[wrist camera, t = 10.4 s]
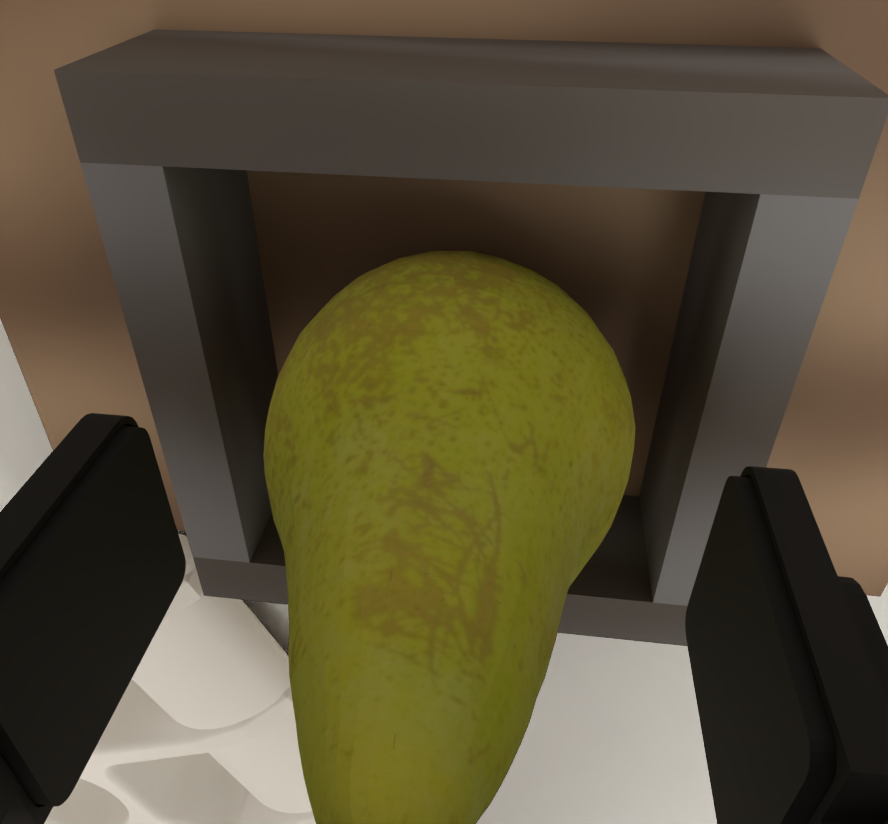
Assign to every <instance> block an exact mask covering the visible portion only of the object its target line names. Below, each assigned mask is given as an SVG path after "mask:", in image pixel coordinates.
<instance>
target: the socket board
mask: <svg viewBox="0 0 888 824" xmlns="http://www.w3.org/2000/svg"><path fill="white" fill-rule="evenodd" d="M431 251H473V252H478V253H482V254H486V255H491V256H495V257H499V258H503V259H506V260H508V261H511V262H513V263H516V264H518V265H521V266H524V267H526V268H529V269H531V270H533V271H535V272H536V273H538V274H540V275H541V276H543V277H545V278H546V279H548V280H550V281H551V282H553V283H555V284H557V285H558V286H559V287H560V288H561V289H562V290H563V291H565V292H566V293H567V294H568V295H569V296H570V297H571V298H572V299H573V300H574V301H575V302H576V303H577V304H579V305H580V306H581V307H582V308H583V309H584V310H585V311H586V312H587V313H588V314H589V316H590V317H591V319H592V320H593V322H594V323H595V324H596V326H597V327H598V329H599V330H600V332H601V333H602V335H603V336H604V337H605V339H606V340H607V342H608V343H609V345H610V346H611V348H612V349H613V350H614V352H615V355H616V357H617V360H618V362H619V364H620V367H621V369H622V372H623V374H624V377H625V379H626V382H627V385H628V389H629V392H630V395H631V400H632V407H633V414H634V421H635V427H636V429H635V441H634V451H633V457H632V462H631V468H630V473H629V479H628V482H627V485H626V488H625V491H624V494H623V497H622V500H621V503H620V505H619V508H618V510H617V513H616V515H615V518H614V520H613V523H612V525H611V527H610V529H609V531H608V532H607V534H606V536H605V537H604V539H603V541H602V542H601V544H600V545H599V547H598V548H597V550H596V551H595V552H594V554H593V555H592V556H591V558H590V559H589V561H588V562H587V563H586V565H585V566H584V568H583V569H582V570H581V572H580V573H579V575H578V576H577V577H576V579H575V580H574V581H573V583H572V584H571V585H570V587H569V589H568V592H567V596H566V599H565V603H564V607H563V611H562V615H561V619H560V623H559V628H558V632H557V633H567V634H577V635H586V636H596V637H605V638H615V639H625V640H634V641H644V642H654V643H663V644H673V645H682V646H688V645H687V639H686V632H685V617H686V610H687V606H688V603H689V599H690V596H691V593H692V590H693V586H694V583H695V580H696V576H697V573H698V570H699V567H700V563H701V560H702V557H703V554H704V550H705V547H706V544H707V541H708V537H709V534H710V531H711V528H712V524H713V521H714V518H715V515H716V511H717V508H718V505H719V502H720V498H721V495H722V492H723V488H724V485H725V482H726V480H727V478H728V477H729V476H741V473H742V471H743V470H744V468H745V467H747V466H754V467H767V468H779V469H791V470H793V471H795V472H796V474H797V476H798V477H799V480H800V482H801V485H802V487H803V490H804V492H805V495H806V497H807V500H808V502H809V505H810V507H811V510H812V512H813V515H814V518H815V520H816V523H817V525H818V528H819V530H820V533H821V535H822V538H823V540H824V543H825V545H826V548H827V550H828V553H829V555H830V558H831V560H832V563H833V566H834V568H835V571H836V573H837V576H841V577H849V578H853V579H854V580H856V581H857V582H858V583H859V584H860V585H861V587H862V589H863V591H864V592H865V594H866V595H871V596H881V594H882V592H883V590H884V588H885V587H886V585H887V583H888V0H0V318H1V321H2V323H3V326H4V328H5V331H6V333H7V336H8V338H9V341H10V343H11V346H12V348H13V351H14V353H15V356H16V358H17V361H18V364H19V366H20V369H21V371H22V374H23V376H24V379H25V381H26V384H27V386H28V389H29V391H30V394H31V396H32V399H33V401H34V404H35V406H36V409H37V411H38V414H39V416H40V419H41V421H42V424H43V426H44V429H45V431H46V434H47V436H48V439H49V441H50V444H51V446H52V449H53V451H54V449H55V448H56V447H57V446H58V445H59V444H60V442H61V441H62V440H63V439H64V438H65V437H66V436H67V434H68V433H69V432H70V431H71V430H72V429H73V427H74V426H75V425H76V424H77V423H78V422H79V421H80V419H81V418H83V417H84V416H85V415H86V414H90V413H97V414H109V415H122V416H129V417H132V418H133V419H134V420H135V421H136V422H137V424H138V427H142V428H145V429H146V430H147V432H148V434H149V436H150V439H151V443H152V446H153V450H154V453H155V456H156V460H157V463H158V467H159V470H160V473H161V477H162V480H163V484H164V487H165V490H166V494H167V497H168V501H169V504H170V507H171V511H172V514H173V518H174V521H175V524H176V528H177V529H179V530H185V532H186V535H187V539H188V542H189V546H190V549H191V553H192V556H193V560H194V563H195V567H196V570H197V574H198V577H199V581H200V584H201V588H202V591H203V595H204V596H211V597H221V598H230V599H240V600H250V601H259V602H269V603H278V604H288V592H287V577H286V565H285V555H284V550H283V546H282V543H281V540H280V537H279V534H278V531H277V528H276V525H275V523H274V519H273V514H272V509H271V504H270V499H269V494H268V489H267V484H266V479H265V471H264V458H263V452H264V439H265V427H266V422H267V416H268V411H269V406H270V402H271V399H272V395H273V392H274V388H275V385H276V381H277V378H278V376H279V374H280V372H281V370H282V367H283V365H284V363H285V361H286V359H287V357H288V355H289V353H290V351H291V350H292V348H293V346H294V344H295V342H296V340H297V338H298V336H299V334H300V333H301V332H302V330H303V329H304V328H305V327H306V326H307V325H308V324H309V322H310V321H311V320H312V319H313V318H314V317H315V316H316V315H317V314H318V313H319V311H320V310H321V309H322V308H323V307H324V306H325V305H326V304H327V303H328V302H329V301H330V300H331V298H332V297H334V296H335V295H336V294H337V293H339V292H340V291H341V290H342V289H344V288H345V287H346V286H347V285H349V284H350V283H351V282H352V281H354V280H355V279H356V278H357V277H359V276H361V275H363V274H365V273H367V272H369V271H371V270H373V269H375V268H378V267H380V266H382V265H384V264H387V263H389V262H391V261H393V260H396V259H398V258H402V257H407V256H412V255H416V254H421V253H426V252H431Z"/></svg>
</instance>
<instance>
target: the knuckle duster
mask: <svg viewBox="0 0 888 824" xmlns="http://www.w3.org/2000/svg"><path fill="white" fill-rule="evenodd" d="M178 535H179V538H180V542H181V545H182V548H183V552H184V555H185V560H186V569H185V575H184V579H183V581H182V584H181V586H180V588H179V590H178V591H177V593H176V595H175V597H174V599H173V601H172V603H171V605H170V607H169V609H168V611H167V612H166V614H165V616H164V618H163V620H162V622H161V624H160V626H159V628H158V630H157V631H156V633H155V635H154V637H153V639H152V641H151V643H150V645H149V647H148V649H147V651H146V652H145V654H144V656H143V658H142V660H141V662H140V664H139V666H138V668H137V670H136V671H135V673H134V675H133V677H132V679H131V681H130V683H129V685H128V687H127V689H126V691H125V692H124V694H123V696H122V698H121V700H120V702H119V704H118V706H117V708H116V710H115V712H114V713H113V715H112V717H111V719H110V721H109V723H108V725H107V727H106V729H105V731H104V732H103V734H102V736H101V738H100V740H99V742H98V744H97V746H96V748H95V750H94V752H93V753H92V755H91V757H90V759H89V761H88V763H87V765H86V767H85V769H84V771H83V772H82V774H81V776H80V778H79V780H78V782H77V784H76V786H75V788H74V790H73V791H72V793H71V795H70V796H69V798H68V799H67V800H66V801H65V802H64V803H63V804H62V805H60V806H53V808H52V810H51V812H50V814H49V816H48V818H47V819H46V821H45V823H44V824H316V822H315V819H314V815H313V812H312V808H311V804H310V801H309V797H308V793H307V789H306V785H305V780H304V776H303V770H302V764H301V758H300V753H299V747H298V739H297V730H296V721H295V715H294V708H293V701H292V694H291V686H290V678H289V656H288V655H287V654H286V653H285V651H284V650H283V649H282V648H281V646H280V645H279V644H278V643H277V642H276V640H275V639H274V638H273V637H272V636H271V634H270V633H269V632H268V631H267V629H266V628H265V627H264V626H263V625H262V623H261V622H260V621H259V620H258V619H257V617H256V616H255V615H254V614H253V612H252V611H251V610H250V609H249V608H248V606H247V605H246V604H245V603H244V602H243V600H240V599H230V598H221V597H211V596H204V595H203V591H202V588H201V584H200V581H199V577H198V574H197V570H196V567H195V563H194V560H193V556H192V553H191V549H190V546H189V542H188V539H187V536H185V535H182V534H178Z"/></svg>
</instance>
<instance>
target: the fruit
mask: <svg viewBox="0 0 888 824" xmlns="http://www.w3.org/2000/svg"><path fill="white" fill-rule="evenodd" d="M635 429H636V427H635V421H634V414H633V407H632V400H631V395H630V392H629V389H628V385H627V382H626V379H625V377H624V374H623V372H622V369H621V367H620V364H619V362H618V360H617V357H616V355H615V352H614V350H613V349H612V348H611V346H610V345H609V343H608V342H607V340H606V339H605V337H604V336H603V335H602V333H601V332H600V330H599V329H598V327H597V326H596V324H595V323H594V322H593V320H592V319H591V317H590V316H589V314H588V313H587V312H586V311H585V310H584V309H583V308H582V307H581V306H580V305H579V304H577V303H576V302H575V301H574V300H573V299H572V298H571V297H570V296H569V295H568V294H567V293H566V292H565V291H563V290H562V289H561V288H560V287H559V286H558V285H557V284H555V283H553V282H551V281H550V280H548V279H546V278H545V277H543V276H541V275H540V274H538V273H536V272H535V271H533V270H531V269H529V268H526V267H524V266H521V265H518V264H516V263H513V262H511V261H508V260H506V259H503V258H499V257H495V256H491V255H486V254H482V253H478V252H473V251H431V252H426V253H421V254H416V255H412V256H407V257H402V258H398V259H396V260H393V261H391V262H389V263H387V264H384V265H382V266H380V267H378V268H375V269H373V270H371V271H369V272H367V273H365V274H363V275H361V276H359V277H357V278H356V279H355V280H354V281H352V282H351V283H350V284H349V285H347V286H346V287H345V288H344V289H342V290H341V291H340V292H339V293H337V294H336V295H335V296H334V297H332V298H331V300H330V301H329V302H328V303H327V304H326V305H325V306H324V307H323V308H322V309H321V310H320V311H319V313H318V314H317V315H316V316H315V317H314V318H313V319H312V320H311V321H310V322H309V324H308V325H307V326H306V327H305V328H304V329H303V330H302V332H301V333H300V334H299V336H298V338H297V340H296V342H295V344H294V346H293V348H292V350H291V351H290V353H289V355H288V357H287V359H286V361H285V363H284V365H283V367H282V370H281V372H280V374H279V376H278V378H277V381H276V385H275V388H274V392H273V395H272V399H271V402H270V406H269V411H268V416H267V422H266V427H265V439H264V452H263V458H264V471H265V479H266V484H267V489H268V494H269V499H270V504H271V509H272V514H273V519H274V523H275V525H276V528H277V531H278V534H279V537H280V540H281V543H282V546H283V550H284V555H285V565H286V577H287V592H288V611H289V649H288V653H289V678H290V686H291V694H292V701H293V708H294V715H295V721H296V730H297V739H298V747H299V753H300V758H301V764H302V770H303V776H304V780H305V785H306V789H307V793H308V797H309V801H310V804H311V808H312V812H313V815H314V819H315V822H316V824H476V822H477V821H478V820H479V818H480V817H481V816H482V814H483V813H484V812H485V810H486V809H487V808H488V806H489V805H490V803H491V802H492V800H493V798H494V796H495V795H496V793H497V791H498V789H499V788H500V786H501V784H502V782H503V780H504V778H505V776H506V774H507V772H508V770H509V768H510V766H511V764H512V762H513V760H514V758H515V755H516V753H517V751H518V749H519V747H520V744H521V742H522V739H523V737H524V734H525V732H526V729H527V727H528V724H529V722H530V718H531V715H532V712H533V708H534V705H535V701H536V698H537V696H538V693H539V691H540V688H541V686H542V683H543V681H544V678H545V675H546V671H547V668H548V665H549V661H550V658H551V654H552V651H553V647H554V644H555V640H556V636H557V632H558V628H559V623H560V619H561V615H562V611H563V607H564V603H565V599H566V596H567V592H568V589H569V587H570V585H571V584H572V583H573V581H574V580H575V579H576V577H577V576H578V575H579V573H580V572H581V570H582V569H583V568H584V566H585V565H586V563H587V562H588V561H589V559H590V558H591V556H592V555H593V554H594V552H595V551H596V550H597V548H598V547H599V545H600V544H601V542H602V541H603V539H604V537H605V536H606V534H607V532H608V531H609V529H610V527H611V525H612V523H613V520H614V518H615V515H616V513H617V510H618V508H619V505H620V503H621V500H622V497H623V494H624V491H625V488H626V485H627V482H628V479H629V473H630V468H631V462H632V457H633V451H634V441H635Z"/></svg>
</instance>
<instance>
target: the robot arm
mask: <svg viewBox="0 0 888 824" xmlns="http://www.w3.org/2000/svg"><path fill="white" fill-rule="evenodd" d="M185 569H186V560H185V555H184V552H183V548H182V545H181V542H180V538H179V535H178V531H177V528H176V524H175V521H174V518H173V514H172V511H171V507H170V504H169V501H168V497H167V494H166V490H165V487H164V484H163V480H162V477H161V473H160V470H159V467H158V463H157V460H156V456H155V453H154V450H153V446H152V443H151V439H150V436H149V434H148V432H147V430H146V429H145V428H142V427H138V424H137V422H136V421H135V420H134V419H133V418H132V417H129V416H122V415H109V414H97V413H90V414H86V415H85V416H84V417H83V418H81V419H80V421H79V422H78V423H77V424H76V425H75V426H74V427H73V429H72V430H71V431H70V432H69V433H68V434H67V436H66V437H65V438H64V439H63V440H62V441H61V442H60V444H59V445H58V446H57V447H56V448H55V449H54V451H53V452H52V453H51V454H50V455H49V456H48V458H47V459H46V460H45V461H44V462H43V463H42V464H41V466H40V467H39V468H38V469H37V470H36V471H35V473H34V474H33V475H32V476H31V477H30V478H29V480H28V481H27V482H26V483H25V484H24V485H23V486H22V488H21V489H20V490H19V491H18V492H17V493H16V495H15V496H14V497H13V498H12V499H11V500H10V501H9V503H8V504H7V505H6V506H5V507H4V508H3V510H2V511H1V512H0V824H44V823H45V821H46V819H47V818H48V816H49V814H50V812H51V810H52V808H53V806H60V805H62V804H63V803H64V802H65V801H66V800H67V799H68V798H69V796H70V795H71V793H72V791H73V790H74V788H75V786H76V784H77V782H78V780H79V778H80V776H81V774H82V772H83V771H84V769H85V767H86V765H87V763H88V761H89V759H90V757H91V755H92V753H93V752H94V750H95V748H96V746H97V744H98V742H99V740H100V738H101V736H102V734H103V732H104V731H105V729H106V727H107V725H108V723H109V721H110V719H111V717H112V715H113V713H114V712H115V710H116V708H117V706H118V704H119V702H120V700H121V698H122V696H123V694H124V692H125V691H126V689H127V687H128V685H129V683H130V681H131V679H132V677H133V675H134V673H135V671H136V670H137V668H138V666H139V664H140V662H141V660H142V658H143V656H144V654H145V652H146V651H147V649H148V647H149V645H150V643H151V641H152V639H153V637H154V635H155V633H156V631H157V630H158V628H159V626H160V624H161V622H162V620H163V618H164V616H165V614H166V612H167V611H168V609H169V607H170V605H171V603H172V601H173V599H174V597H175V595H176V593H177V591H178V590H179V588H180V586H181V584H182V581H183V579H184V575H185ZM685 632H686V639H687V645H688V651H689V657H690V663H691V669H692V675H693V681H694V687H695V693H696V699H697V705H698V711H699V717H700V723H701V729H702V735H703V741H704V747H705V753H706V759H707V765H708V770H709V776H710V782H711V788H712V794H713V800H714V806H715V812H716V818H717V824H888V646H887V643H886V641H885V639H884V636H883V634H882V631H881V629H880V627H879V624H878V622H877V620H876V617H875V615H874V613H873V610H872V608H871V606H870V603H869V601H868V599H867V596H866V594H865V592H864V591H863V589H862V587H861V585H860V584H859V583H858V582H857V581H856V580H854V579H853V578H849V577H841V576H837V573H836V571H835V568H834V566H833V563H832V560H831V558H830V555H829V553H828V550H827V548H826V545H825V543H824V540H823V538H822V535H821V533H820V530H819V528H818V525H817V523H816V520H815V518H814V515H813V512H812V510H811V507H810V505H809V502H808V500H807V497H806V495H805V492H804V490H803V487H802V485H801V482H800V480H799V477H798V476H797V474H796V472H795V471H793V470H791V469H779V468H767V467H754V466H747V467H745V468H744V470H743V471H742V473H741V476H729V477H728V478H727V480H726V482H725V485H724V488H723V492H722V495H721V498H720V502H719V505H718V508H717V511H716V515H715V518H714V521H713V524H712V528H711V531H710V534H709V537H708V541H707V544H706V547H705V550H704V554H703V557H702V560H701V563H700V567H699V570H698V573H697V576H696V580H695V583H694V586H693V590H692V593H691V596H690V599H689V603H688V606H687V610H686V617H685Z"/></svg>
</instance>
